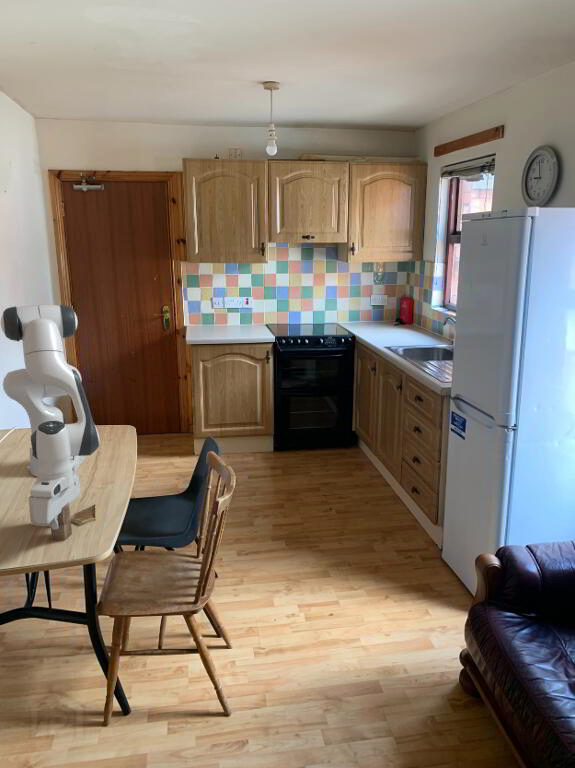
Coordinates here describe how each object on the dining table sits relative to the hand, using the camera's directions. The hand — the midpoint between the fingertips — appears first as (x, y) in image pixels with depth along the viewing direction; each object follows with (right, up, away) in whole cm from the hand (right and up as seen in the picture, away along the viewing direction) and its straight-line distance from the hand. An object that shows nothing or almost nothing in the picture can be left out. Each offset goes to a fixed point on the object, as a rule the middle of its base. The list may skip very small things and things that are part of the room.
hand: (60, 523), depth 168 cm
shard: (+2, -2, +13) cm, 14 cm away
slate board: (-8, -2, +8) cm, 11 cm away
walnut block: (0, -4, +1) cm, 4 cm away
